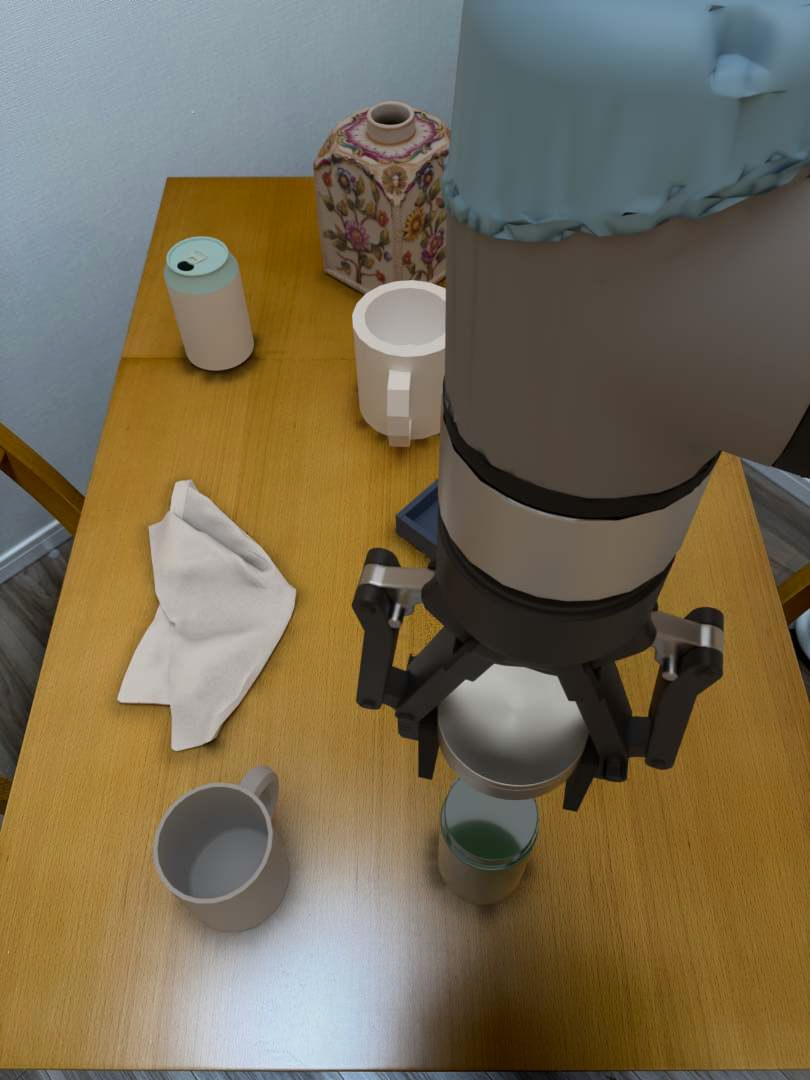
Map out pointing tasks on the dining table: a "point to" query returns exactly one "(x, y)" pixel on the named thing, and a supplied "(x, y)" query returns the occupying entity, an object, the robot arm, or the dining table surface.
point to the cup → (225, 851)
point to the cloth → (205, 618)
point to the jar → (484, 843)
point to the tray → (421, 521)
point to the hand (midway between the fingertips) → (500, 769)
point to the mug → (401, 359)
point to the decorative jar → (383, 197)
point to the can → (209, 303)
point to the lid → (511, 733)
